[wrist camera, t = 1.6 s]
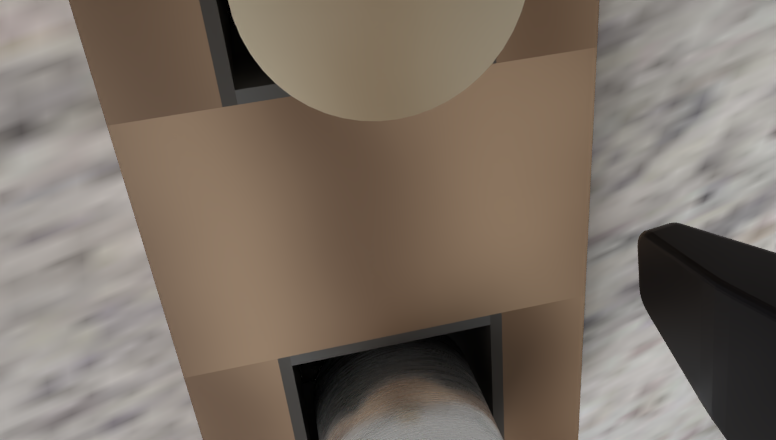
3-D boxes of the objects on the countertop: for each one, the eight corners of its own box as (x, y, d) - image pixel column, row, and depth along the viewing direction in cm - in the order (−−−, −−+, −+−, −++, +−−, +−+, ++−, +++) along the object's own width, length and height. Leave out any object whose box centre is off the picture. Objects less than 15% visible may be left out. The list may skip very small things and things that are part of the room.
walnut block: (510, -434, 15) (624, -529, 11) (517, 412, 27) (573, 524, 23) (8, -399, 14) (-81, -490, 10) (247, 473, 26) (252, 604, 22)
